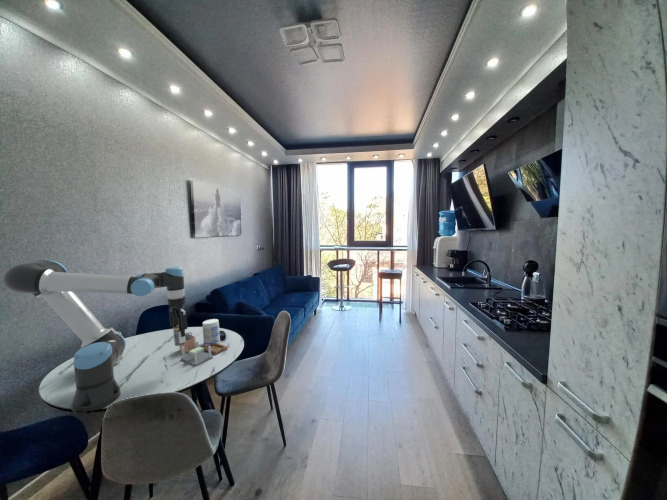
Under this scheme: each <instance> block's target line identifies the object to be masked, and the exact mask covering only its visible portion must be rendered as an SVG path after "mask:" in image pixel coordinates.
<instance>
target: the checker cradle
mask: <svg viewBox="0 0 667 500" xmlns="http://www.w3.org/2000/svg"><path fill="white" fill-rule="evenodd" d="M197 347H200V346H199V341H196V348H197ZM207 353H208V354H207ZM207 353H204V352H203V351H202V352H200V353H197V352H195V353H194V355H192V354H188V355H186V353H185V347H182V352H181V358H180V361H183V362H185V363H187V364H189V365H192V366H194V367H197V366H199V365H202V364H203V363H205V362H208V361H210V360H212V359H213V358H214V356H212V353H211V346H208V352H207Z"/></svg>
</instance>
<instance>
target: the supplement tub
mask: <svg viewBox="0 0 667 500" xmlns="http://www.w3.org/2000/svg"><path fill="white" fill-rule="evenodd" d="M220 335H221V333H220V322H219V319H217V318H212V319H211V318H210V319H206V320H204V321H203V322H202V336H203V337H202V338H203V345H204V347H206V346H208V345H210V344H213V343H218V344H220V342H221V337H220Z"/></svg>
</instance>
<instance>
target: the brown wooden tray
mask: <svg viewBox="0 0 667 500" xmlns="http://www.w3.org/2000/svg"><path fill="white" fill-rule="evenodd" d="M208 346H211V355H215V356H216V355H218V354H221V353H222V352H225V351H227V350H228V346H226V345H224V344H220V343H213V344H210V345H208ZM208 346H203V347H202V348H204V351H203V352H207V353H208Z"/></svg>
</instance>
